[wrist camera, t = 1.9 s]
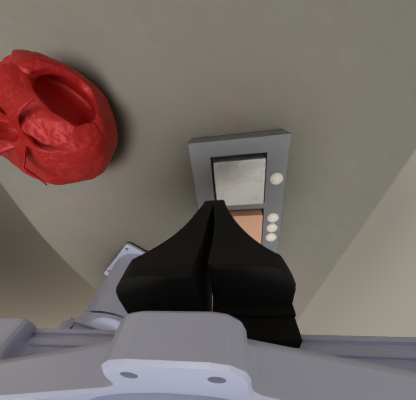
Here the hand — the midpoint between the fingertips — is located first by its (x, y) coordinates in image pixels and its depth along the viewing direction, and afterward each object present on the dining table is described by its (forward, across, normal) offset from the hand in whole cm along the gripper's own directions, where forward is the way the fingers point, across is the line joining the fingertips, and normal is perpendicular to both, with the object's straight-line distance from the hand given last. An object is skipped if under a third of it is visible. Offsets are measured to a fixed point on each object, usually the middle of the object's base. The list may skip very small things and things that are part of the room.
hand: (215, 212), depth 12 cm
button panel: (+8, -2, +6) cm, 11 cm away
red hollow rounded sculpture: (+9, +13, -6) cm, 17 cm away
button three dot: (+7, -2, +6) cm, 10 cm away
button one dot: (+7, -2, 0) cm, 7 cm away
